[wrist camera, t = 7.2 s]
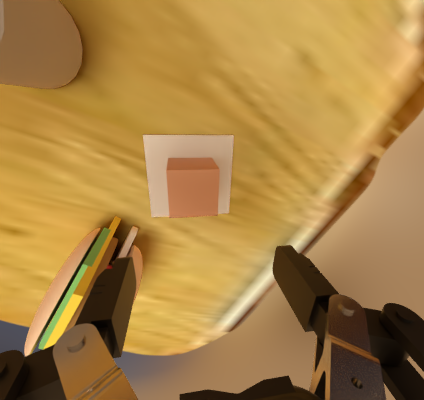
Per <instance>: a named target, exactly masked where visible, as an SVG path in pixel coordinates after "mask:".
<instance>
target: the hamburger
mask: <svg viewBox="0 0 424 400" xmlns="http://www.w3.org/2000/svg"><path fill="white" fill-rule="evenodd" d="M120 220H121V218H118V217H116V216H115V218H114V220H113V221H112V223H111V225H110V227H109V229H107V228H105V227H104V229H103V231H102V232H101V234H100V236H99V237H98V239H97V241H96V242H95V240H96V238H97V236H98V234H99V232H100V230H101V228H97V229H95V230H93V231H92V232H91V233H89V234H88V235H87V236H86V237H85V238H84V239H83V240H82V241H81V242H80V243H79V245H78V246H77V247H76V248H75V249H74V251H73V252H72V253H71V255H70V256H69V257H68V259H67V260H66V262H65V263H64V265H63V266H62V267H61V269H60V271H59V272H58V274H57V275H56V277H55V279H54V280H53V282H52V284H51V285H50V287H49V289H48V291H47V292H46V294H45V296H44V298H43V300H42V302H41V304H40V306H39V308H38V310H37V312H36V314H35V317H34V319H33V321H32V324H31V327H30V329H29V332H28V335H27V339H26V343H25V356H28V355H30V354H31V353H32V352H33V350H34V348H35V347H36V345H37V343H38V342H39V340H40V338H41V337H42V335H43V333H44V332H45V330H46V328H47V327H48V325H49V323H50V322H51V323H50V325H49V327H48V329H47V331H46V332H45V334H44V336H43V338H42V340H41V342H40V345H39V349H45V348H48V347H50V346H52V345H54V344H55V343H56V342H57V340H58V339H59V338H60V337H61V336H62V335H63V334H64V333H65V332H66V331H67V330H69V329H70V328H72V327H74V325H75V323H76V321H77V319H78V317H79V315H80V313H81V310H82V308H83V306H84V304H85V302H86V300H87V298H88V296H89V295H90V291H91V289H92V288H93V285H94V283H95V281H96V278H97V277H98V276H99V275H100V274H101V273H102V272H103V271H104V270H105V269H111V268H112V267H113V265H114V262H115V261H114V260H113V261H112V263H111V265H108V264H109V261H110V259H111V257H112V255H113V253H114V250H115V248H116V245H117V243H118V239H117V238H115V237H113V235H114V233H115V230H116V228H117V226H118V224H119V222H120ZM137 231H138V228H136V227H134V226H132V228H131V230H130V231H129V233H128V235H127V237H126V239H125V241H124V243H123V245H122V247H121V249H120V251H119V253H118V255H117V257H116V258H121V257H132V258H133V262H134V269H135V275H136V292H135V297H134V300H135V298H136V295H137V292H138V289H139V285H140V281H141V277H142V269H143V261H142V255H141V252H140V250H139V249H138V248H137V247H136V246H135V245H133V246H132V247H131V245H132V242H133V240H134V238H135V236H136V234H137ZM94 242H95V244H94ZM93 244H94V246H93ZM92 246H93V248H92ZM130 247H131V248H130ZM91 248H92V249H91ZM129 249H130V250H129ZM90 250H91V251H90ZM89 252H90V253H89ZM88 253H89V254H88ZM87 255H88V256H87ZM86 257H87V258H86ZM115 260H116V259H115ZM76 275H77V276H76ZM71 284H72V285H71ZM70 286H71V287H70ZM66 293H67V294H66ZM65 295H66V296H65ZM64 297H65V298H64ZM61 302H62V303H61ZM133 303H134V301H133ZM60 304H61V305H60ZM59 306H60V307H59ZM58 308H59V309H58ZM57 309H58V310H57ZM56 311H57V312H56ZM55 313H56V314H55ZM54 315H55V316H54ZM53 316H54V318H53ZM52 318H53V320H52ZM51 320H52V321H51Z"/></svg>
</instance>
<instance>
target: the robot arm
mask: <svg viewBox="0 0 424 400" xmlns="http://www.w3.org/2000/svg"><path fill="white" fill-rule="evenodd" d="M273 275H274V278H275V279H276V281H277V283H278V285H279V287H280V288H281V290H282V292H283V294H284V295H285V297H286V299H287V301H288V302H289V304H290V306H291V308H292V310H293V311H294V313H295V315H296V317H297V318H298V320H299V322H300V324H301V325H302V327H303V329H304V330H305V332H307V331H314V332H315V333H316V335H317V336H316V339H315V349H314V361H313V371H312V379H311V385H310V388H309V391H308V390H305V389H303V388H300V387H297V386H293V385H292V383H291V380H290V378H289V376H284V377H278V378H272V379H266V380H263V381H261V382H259V383H257V384H255V385H254V386H252V387H250V388H249V389H246V390H245V391H243V392H241V393H239V394H234V393H227V392H221V391H215V390H202V391H196V392H191V393H185V394H180V400H386V395H385V388H384V384H385V385H386V386H387V388H388V389H389V391H390V392H391V394H392V395H393V396H394V398H395V399H396V400H424V379H423V378H422V377H421V375H420V374H419V373H418V372H417V371H416V369H415V368H414V367H413V366H412V365H411V364H410V362H409V361H408V360H407V358H408V357H409V355H410V357H411V358H412V359H413V360H414V361H415V362H416V363H417V365H418V366H419V367H420V368H421V369H422V370H423V371H424V320H423V319H422V318H420V317H419V316H418V315H417V314H416V313H415V312H413V311H411V310H410V309H408V308H406V307H404V306H402V305H399V304H395V303H387V304H385V305H384V307H383V309H382V311H379V310H373V309H367V308H362V306H361V305H360V304H359V303H358V302H356V301H355V300H353V299H352V298H350V297H347V296H345V295H341V294H339V293H338V292H337V291H336V290H335V289H334V287H333V286H332V285H331V284H330V283H329V282H328V280H327V279H326V278H325V277H324V276H323V275H322V273H320V271H319V270H318V269H317V268H316V267H315V265H314V264H313V263H312V262H311V261H310V259H308V258H307V257H305V256H304V255H302V254H301V253H300V254H298V253H297V252H296V250H295V249H294V248H293V247H292V246H291V245H286V246H277V248H276V251H275V257H274V262H273ZM135 292H136V275H135V269H134V262H133V258H132V257H121V258H116V260H115V262H114V265H113V267H112V268H111V269H105V270H104V271H103V272H102V273H101V274H100V275H99V276H98V277H97V278H96V281H95V283H94V285H93V288H92V289H91V291H90V295H89V296H88V298H87V300H86V302H85V304H84V306H83V308H82V310H81V313H80V315H79V317H78V319H77V321H76V323H75V325H74V327H72V328H70V329H69V330H67V331H66V332H65V333H64V334H63V335H62V336H61V337H60V338H59V339H58V340H57V342H56V343H55V344H54V345H52V346H50V347H48V348H45V349H43V350H40V351H38V352H35V353H33V354H30V355H28V356H25V357H24V355H23V354H22V353H21V352H20V351H17V350H11V351H6V352H3V353H0V400H138V398H137V396H136V394H135V393H134V391H133V389H132V388H131V386H130V384H129V382H128V380H127V378H126V376H125V375H124V373H123V371H122V370H121V368H118V367H117V365H116V364H115V362H114V360H113V358H117V357H121V354H122V350H123V345H124V341H125V337H126V332H127V328H128V323H129V319H130V314H131V310H132V305H133V301H134V297H135Z"/></svg>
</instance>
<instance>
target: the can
mask: <svg viewBox="0 0 424 400" xmlns="http://www.w3.org/2000/svg"><path fill="white" fill-rule="evenodd" d="M82 52H83V48H82V43H81V38H80V34H79V31H78V29H77V27H76V25H75V23H74V21H73V19H72V17H71V15H70V14H69V13H68V11H67V10H66V9H65V8H64V6H63V5H62V4H61V3H60V1H59V0H0V84H8V85H16V86H25V87H33V88H43V89H55V88H58V87H61V86H64V85H67V84H68V83H69V82H70V81H71V80H72V79H73V78H74V77H76V75H77V73H78V71H79V68H80V66H81V64H82Z"/></svg>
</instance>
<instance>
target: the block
mask: <svg viewBox="0 0 424 400" xmlns="http://www.w3.org/2000/svg"><path fill="white" fill-rule="evenodd" d="M219 172H220V169H219V168H218V166H217V165H216V163H215V162H214V160H213V159H212V158H168V162H167V169H166V174H167V189H168V204H169V218H179V217H198V216H217V215H218V197H219Z"/></svg>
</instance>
